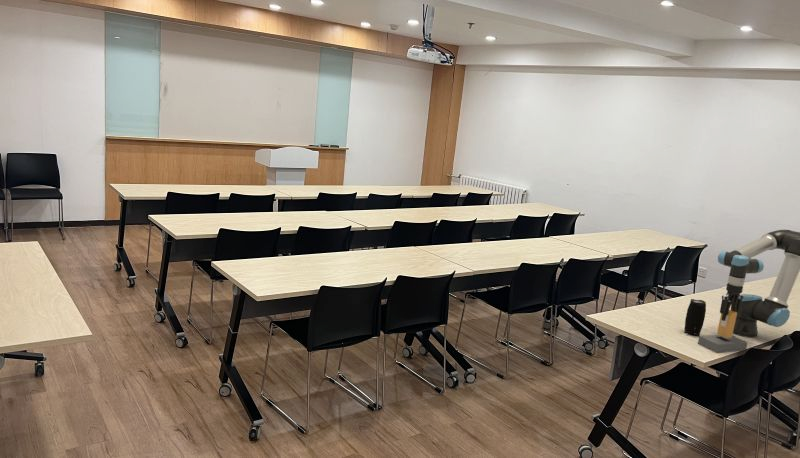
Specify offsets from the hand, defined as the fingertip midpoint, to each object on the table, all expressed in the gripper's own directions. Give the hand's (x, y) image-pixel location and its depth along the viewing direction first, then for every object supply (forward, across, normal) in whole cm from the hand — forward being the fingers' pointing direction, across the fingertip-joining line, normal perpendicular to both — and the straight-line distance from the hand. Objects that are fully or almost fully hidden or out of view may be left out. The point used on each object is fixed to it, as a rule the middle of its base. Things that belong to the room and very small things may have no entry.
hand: (726, 325), depth 317 cm
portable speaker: (+12, -1, +19) cm, 23 cm away
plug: (+6, 0, 0) cm, 6 cm away
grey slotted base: (+12, 0, 0) cm, 12 cm away
